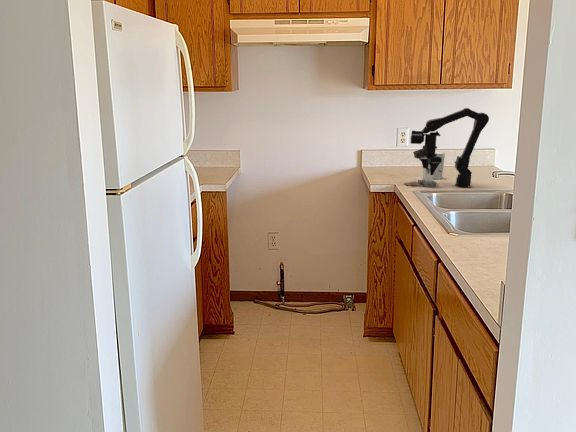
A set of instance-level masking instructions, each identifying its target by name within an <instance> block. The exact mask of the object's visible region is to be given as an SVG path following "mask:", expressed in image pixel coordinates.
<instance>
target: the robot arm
mask: <svg viewBox="0 0 576 432" xmlns="http://www.w3.org/2000/svg"><path fill="white" fill-rule="evenodd" d="M465 117H468V118H470V119H473V120H474V121H473V127H472V131H471V133H470V135H469V137H468V140H467V142H466V144H465V147H464V149H463V152H462V154H461V155H460V156H459V155H457V157H456V160H455V161H454V168H455V170H456V171H457V173H458V174H457V176H456V177H455V178H456V179H455V180H456V181H455V184H454V185H455V186H456V187H459V188H469V187H468V186H471V182H472V175H473V173H472V171H471V170H470V169H469V165H470V159H471V156H472V153H473V151H474V148H475V145H476V144H477V141H478V139H479V137H480V135H481V132H482V131H483V129H484V128H486V126H487V125H488V123H489V120H490V117H489V115H488V114H487V113H485V112H477V111H474V110H472V109H470V108H469V107H464V108H462V109H461V110H457V111H455V112H453V113H450V114H448V115H445V116H443V117H438V118H433V119H429V120H426V123H425V125H424V127H423V129H422V130H411V134H410V135H411V136H410V139H409V140H410V144H412V145H413V144H415V145H421V144H422V143H424V145H422V148H420V149H418V150H417V149H416V150H415V151H413V152H412V153H413V156H414V158H415V159H418V160H419V161H420V162H421V166H422V169H423V168H428V165H430V175H433V174H434V172H435V170H436V168H437V167H438V165H439V164H440V162H442V158H441V157H439V156H437V154H435V152H436V150H437V149H438V145H437V137H441V134H440V133H439V131H438V130H439V129H440V128H442V127H444V126H445V125H447V124H450V123H453V122H455V121H457V120H460V119H463V118H465Z"/></svg>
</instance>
